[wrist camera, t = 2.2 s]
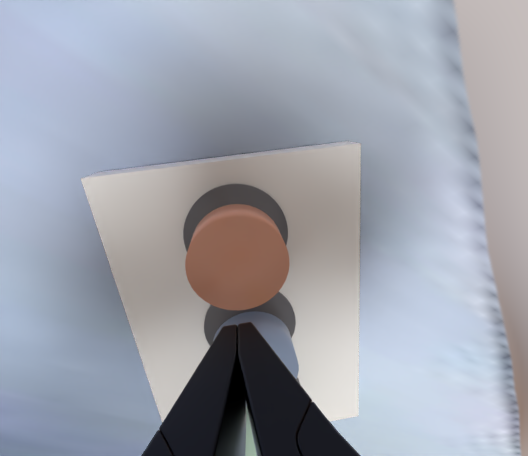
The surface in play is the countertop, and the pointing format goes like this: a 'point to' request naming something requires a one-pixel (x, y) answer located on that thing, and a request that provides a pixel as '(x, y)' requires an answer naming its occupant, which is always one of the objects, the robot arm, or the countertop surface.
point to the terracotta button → (237, 258)
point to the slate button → (270, 335)
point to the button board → (295, 238)
